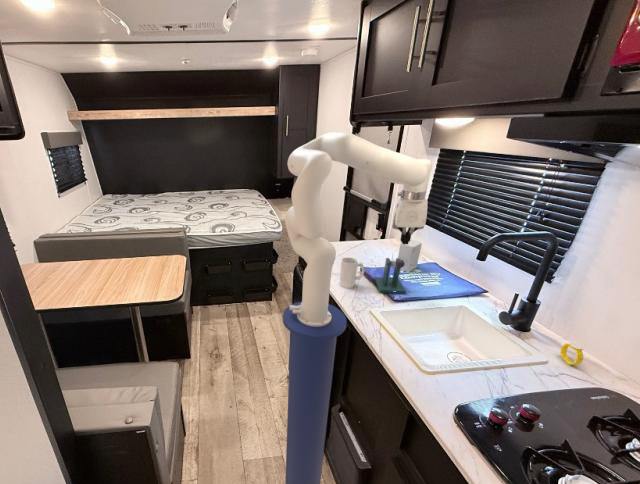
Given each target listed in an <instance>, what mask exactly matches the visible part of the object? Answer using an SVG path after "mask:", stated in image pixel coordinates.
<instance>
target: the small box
mask: <svg viewBox="0 0 640 484" xmlns="http://www.w3.org/2000/svg"><path fill="white" fill-rule="evenodd" d="M422 244H423V242H420V241H416V240H412V239H410V242H409V243H408V244H403V243H402V242H400V244H399V249H398V255H397V258H399V259H400V260H403V261H404V263H405V265H404V266H403V267H402V268H400V271H403V272H406V273H409V272H411V271H413V270H414V269H416V268H417V267H418V263H419V259H420V255H421V254H420V253H421V249H422V246H423V245H422Z"/></svg>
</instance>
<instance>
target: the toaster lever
mask: <svg viewBox="0 0 640 484" xmlns="http://www.w3.org/2000/svg"><path fill="white" fill-rule="evenodd" d="M390 261H391V266H390V268H395V267H398V268H402V267H403V266H404V265H405V263H404V261H403V260H398V261H396V260H390Z"/></svg>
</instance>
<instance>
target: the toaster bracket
mask: <svg viewBox="0 0 640 484" xmlns="http://www.w3.org/2000/svg"><path fill="white" fill-rule="evenodd" d="M398 260H400V259H399V258H398V257H396V258H395V261H398ZM391 261H392V260H390V258H389V257H386V258H385V262H384V269H383V273H382V274H383V275H382V276H374V278H373V280H374V282H375V285H376V288H377V289H378V292H379V293H380V294H394V295H395V294H396V295H406V289H405V288H404V285H403V284H402V282H401V281H400V279H399V277H400V272H401V270H400V268H398V267H393V274H392V277H390V272H391V271H390V270H391V267H390V266H391ZM393 291H396V292H393Z"/></svg>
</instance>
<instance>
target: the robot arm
mask: <svg viewBox="0 0 640 484" xmlns="http://www.w3.org/2000/svg"><path fill="white" fill-rule="evenodd" d="M333 162H337V163H340V164H343V165H346V166H349V167H351V168H353V169H355V170H358V171H361V172H363V173H366V174H370V175H373V176H379V177H383V180H385V181H386V182H389V183H392V184H396V185H397V184H398V185H402V189H401V191H399V192H397V197H399V199H398V200H397V203H396V207H395V209H394V213H393V220H392V226H391V228H392V229H394V230H398V231H399V232H400V234H401V235H400V239H399V241H400V243H403V244H408V243H409V242H410V240H412V239H411V238H412V235H413V234H414V233H415V232H416V231H418V230H423V229H424V227H425V226H426V224H427V223H426V222H427V218H428V216H427V215H428V199H427V198H426V197H427V196H426V195H427V191H428V186H429V181H430V175H431V171H432V165H433V162H432V160H431V159H428V158H414V157H411V156H408V155H406V154H403V153H401V152H400V153H399V152H397V151H394V150H392V149H389V148H386V147H384V146H383V147H382V146H380V145H378V144H375V143H373V142H371V141H368V140H366V139H365V138H362V137H360V136H358V135H357V134H354V133H351V132H345V131H344V132H342V131H341V132H339V131H331V132H326V133H324V134H322V135H320V136H318V137H316V138H314V139H312V140H310V141H309V142H307V143H305V144H303V145H301V146H298V147H297V148H296V149H294V150H293V151H292V152H291V153H290V154H289V156H288V159H287V168H288V171H289V172H290V173H291V174H292V175H294V176H295V177H297V178H296V181H294V184H293V186H292V190H291V203H292V206H290V207H289V208H288V210H287V211H286V213H285V217H284V224H285V228H286V232H287V236H288V238H289V242H290V245H291V247H292V249H293V251H294V253H295V254H297V255H298V256H299V257H301V259H304V260H305V261H306V263H307V264H306V267H305V269H304V271H303V274H302V294H301V295H302V296H301V299H302V300H301V302H302V303H301V305H298V306H294V305H292V304H290V305H289V306H290V310H293V313H295V314H296V313H297V317H298V320H299V321H300V322H302V323H303V324H305V325H308V326H312V327H321V326H325V325H327V324H329V323H330V322H331V317H332V316H331V314H330V312H329V311H328V304H329V300H330V291H331V290H330V289H331V279H332V271H333V267H334V264H335V261H336V257H337V251H336V248H335V246H334V244H333V243H332V242H330V241H329V240H327V239H326V238H324V237H323V236H324V235H325V232H326V220H325V214H324V211H323V207H322V202H321V194H320V193H321V190H322V187H323V184H324V182H325V181H326V180H327V178H328V176H329V175H330V173H331V172H332V168H333Z"/></svg>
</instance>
